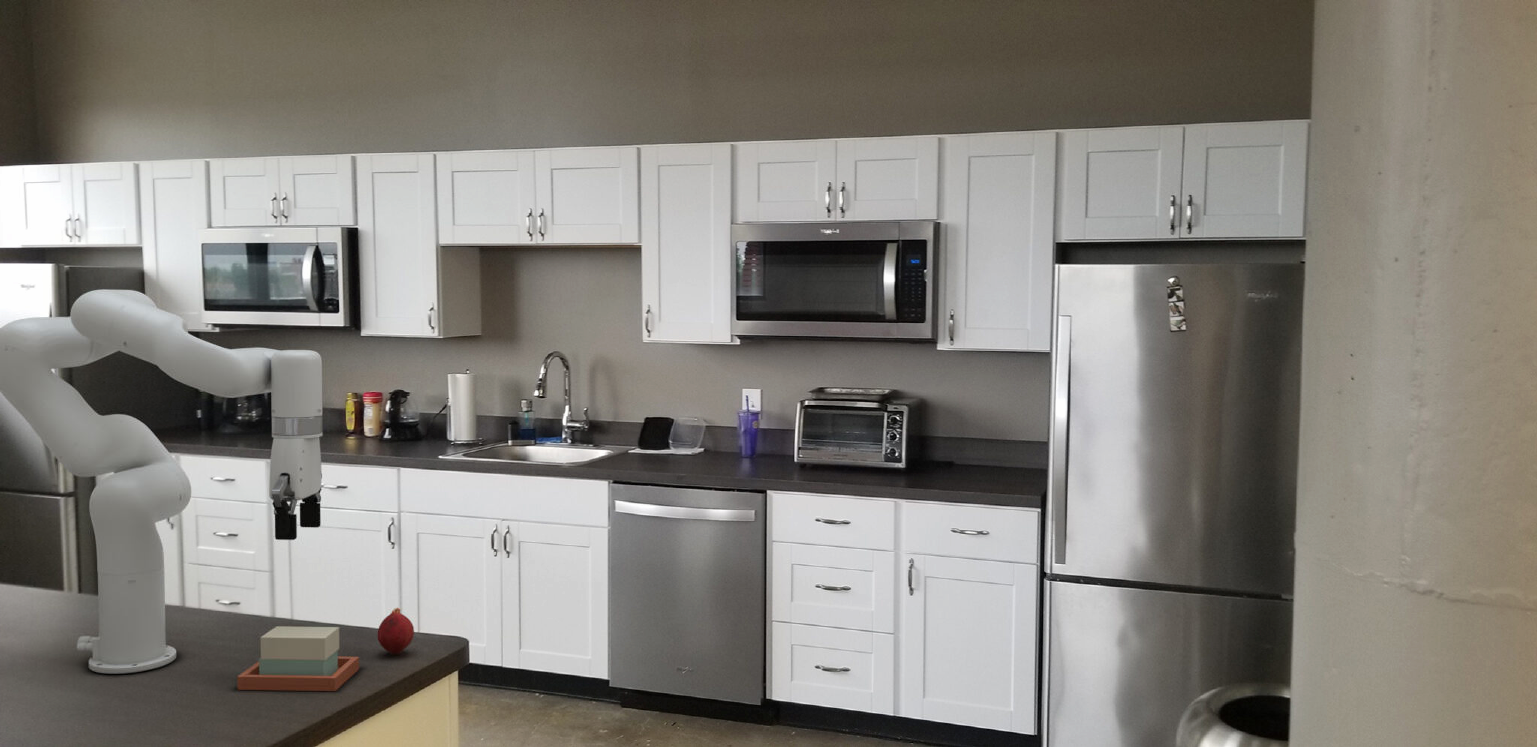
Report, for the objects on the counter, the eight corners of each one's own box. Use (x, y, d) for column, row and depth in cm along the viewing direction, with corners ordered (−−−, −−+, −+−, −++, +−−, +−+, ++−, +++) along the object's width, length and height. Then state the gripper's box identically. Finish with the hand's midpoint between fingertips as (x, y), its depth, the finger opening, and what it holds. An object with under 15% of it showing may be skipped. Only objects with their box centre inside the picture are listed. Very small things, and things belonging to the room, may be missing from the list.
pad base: (259, 681, 180) (258, 659, 179) (275, 668, 186) (275, 647, 185) (323, 682, 180) (323, 660, 179) (338, 669, 186) (337, 648, 185)
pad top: (260, 659, 179) (260, 637, 179) (276, 647, 185) (276, 625, 185) (325, 660, 179) (325, 637, 179) (339, 648, 185) (339, 626, 185)
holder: (237, 689, 177) (237, 676, 177) (266, 667, 188) (266, 655, 188) (335, 691, 178) (335, 677, 177) (359, 669, 188) (359, 656, 188)
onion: (402, 661, 192) (402, 613, 192) (371, 658, 193) (370, 611, 193) (420, 650, 198) (419, 604, 197) (389, 648, 199) (388, 602, 199)
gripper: (295, 421, 194) (296, 522, 195) (249, 433, 176) (251, 544, 178) (340, 421, 194) (341, 522, 195) (299, 434, 176) (300, 544, 178)
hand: (298, 532), depth 186 cm, fingers open, 9 cm apart
